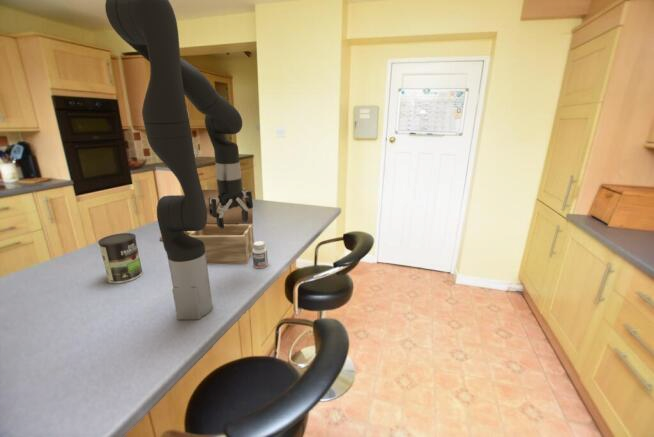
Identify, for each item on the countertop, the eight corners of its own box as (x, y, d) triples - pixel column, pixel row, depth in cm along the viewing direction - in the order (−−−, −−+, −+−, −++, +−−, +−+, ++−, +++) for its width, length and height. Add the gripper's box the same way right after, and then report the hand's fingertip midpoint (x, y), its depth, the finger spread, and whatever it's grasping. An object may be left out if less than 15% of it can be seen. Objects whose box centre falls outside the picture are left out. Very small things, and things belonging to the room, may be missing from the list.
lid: (251, 189, 122) (252, 189, 124) (199, 189, 122) (201, 189, 123) (252, 223, 123) (253, 223, 124) (200, 224, 122) (201, 223, 124)
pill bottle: (258, 261, 116) (257, 239, 113) (270, 263, 114) (269, 241, 111) (250, 267, 111) (248, 244, 108) (262, 269, 109) (261, 246, 107)
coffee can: (149, 270, 108) (142, 233, 104) (126, 285, 99) (117, 245, 94) (125, 267, 110) (117, 231, 106) (99, 282, 101) (89, 242, 96)
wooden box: (246, 263, 114) (244, 236, 110) (190, 263, 114) (186, 236, 110) (254, 249, 127) (252, 224, 123) (204, 249, 126) (200, 224, 123)
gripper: (213, 182, 87) (219, 233, 93) (255, 175, 97) (258, 222, 103) (201, 177, 92) (207, 227, 98) (242, 171, 102) (246, 216, 108)
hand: (233, 224), depth 100 cm, fingers open, 8 cm apart
